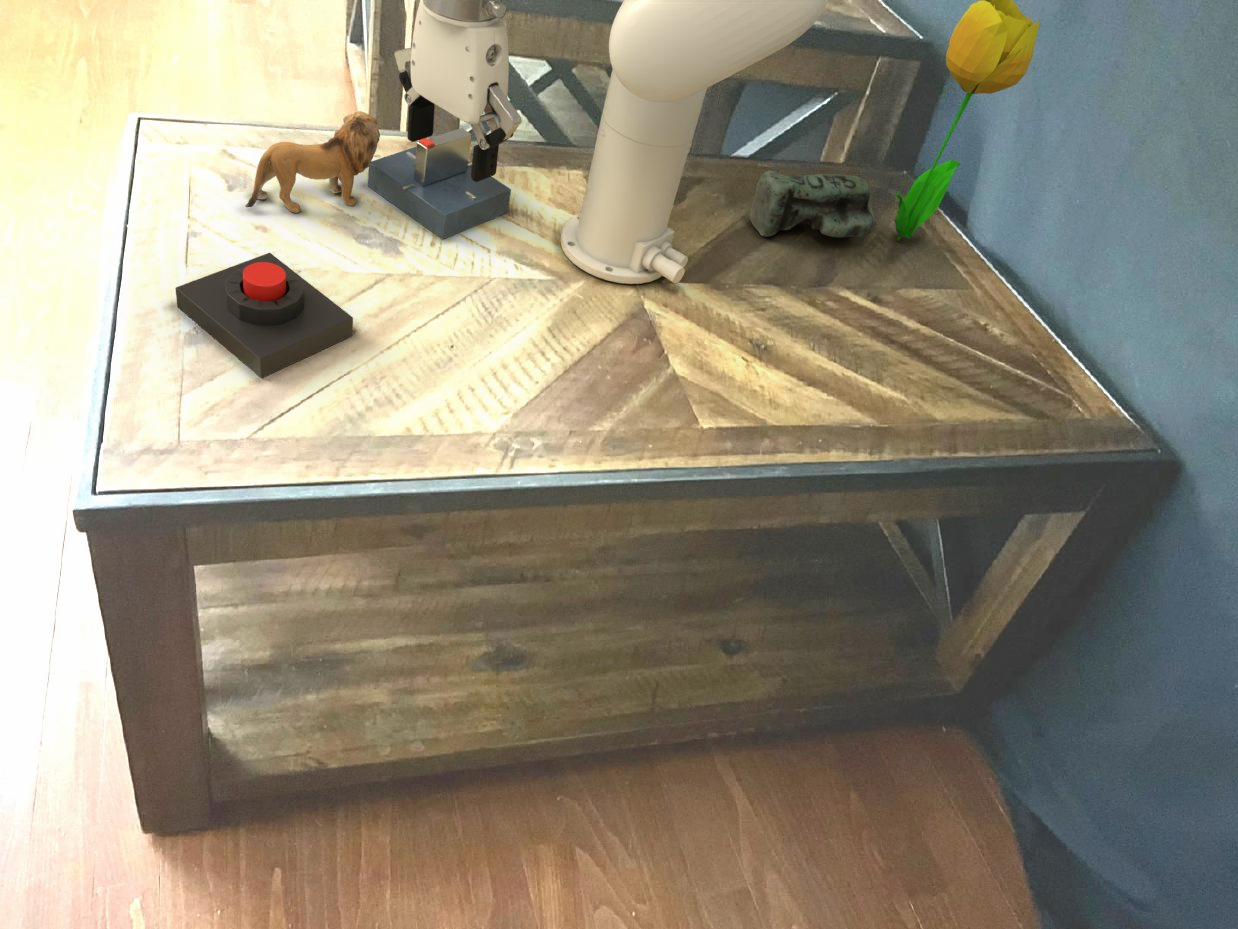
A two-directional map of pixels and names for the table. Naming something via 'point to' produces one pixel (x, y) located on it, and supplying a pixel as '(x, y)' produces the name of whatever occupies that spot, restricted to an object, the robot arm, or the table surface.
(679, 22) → the robot arm
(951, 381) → the table surface
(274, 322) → the button box
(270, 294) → the red button
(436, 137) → the tap handle
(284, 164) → the lion figurine
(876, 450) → the table surface
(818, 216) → the sculpture
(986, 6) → the flower
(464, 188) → the panel
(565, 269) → the table surface
